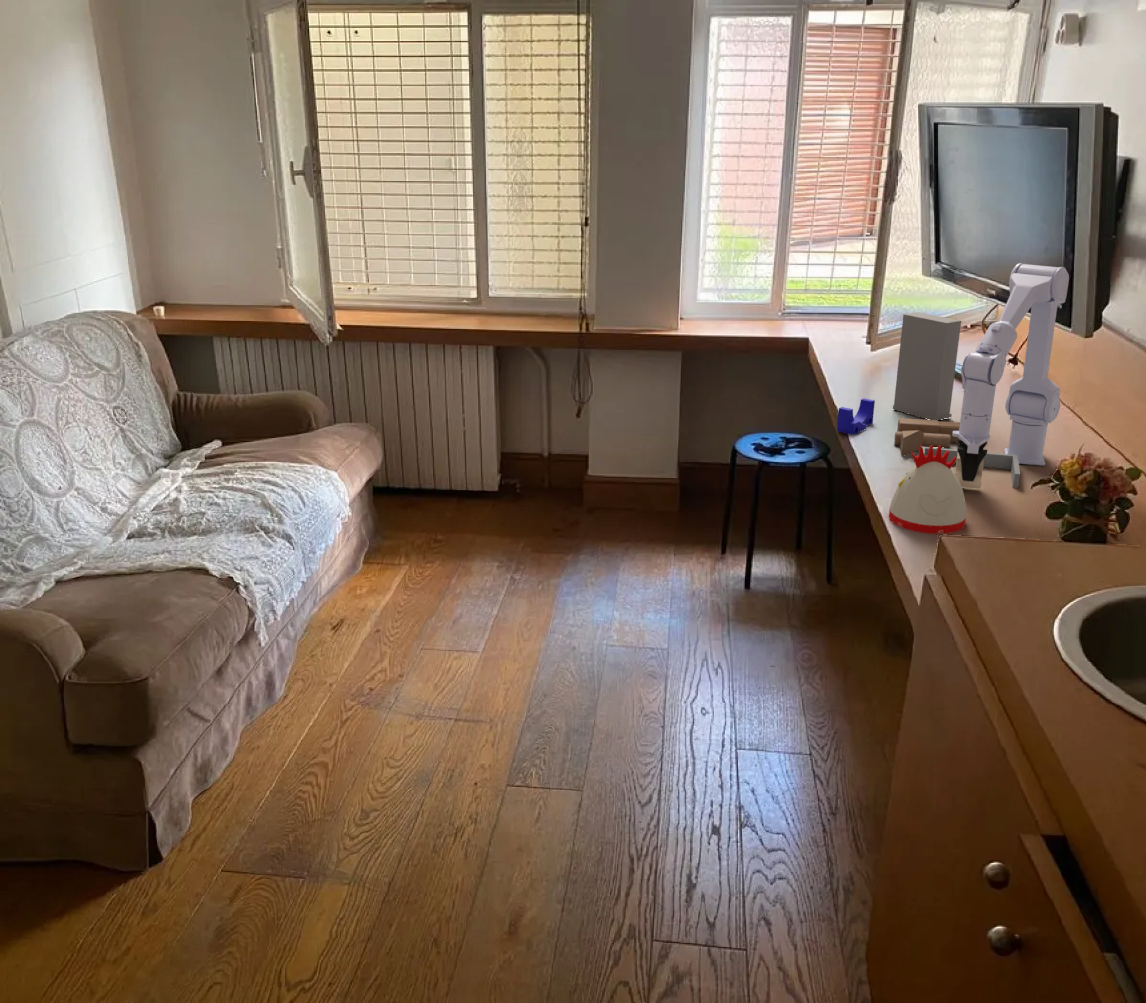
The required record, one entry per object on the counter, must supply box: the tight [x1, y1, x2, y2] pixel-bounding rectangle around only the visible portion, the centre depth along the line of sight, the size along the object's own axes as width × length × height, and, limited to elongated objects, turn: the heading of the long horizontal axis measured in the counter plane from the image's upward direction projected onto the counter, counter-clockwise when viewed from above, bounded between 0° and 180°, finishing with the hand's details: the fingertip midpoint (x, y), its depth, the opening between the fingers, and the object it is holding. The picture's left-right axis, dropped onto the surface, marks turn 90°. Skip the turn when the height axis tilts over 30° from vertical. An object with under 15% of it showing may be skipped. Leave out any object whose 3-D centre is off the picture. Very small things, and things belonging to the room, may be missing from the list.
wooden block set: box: [894, 417, 960, 457], centre depth 235 cm, size 17×6×18 cm
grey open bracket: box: [922, 447, 1021, 489], centre depth 219 cm, size 13×20×3 cm, turn 70°
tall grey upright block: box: [892, 311, 962, 420], centre depth 257 cm, size 14×6×25 cm, turn 31°
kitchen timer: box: [888, 445, 967, 535], centre depth 192 cm, size 14×14×15 cm
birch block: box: [954, 453, 984, 490], centre depth 208 cm, size 4×5×6 cm
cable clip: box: [836, 398, 876, 436], centre depth 250 cm, size 12×4×6 cm, turn 136°
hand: (967, 476), depth 209 cm, fingers closed on birch block, 4 cm apart
